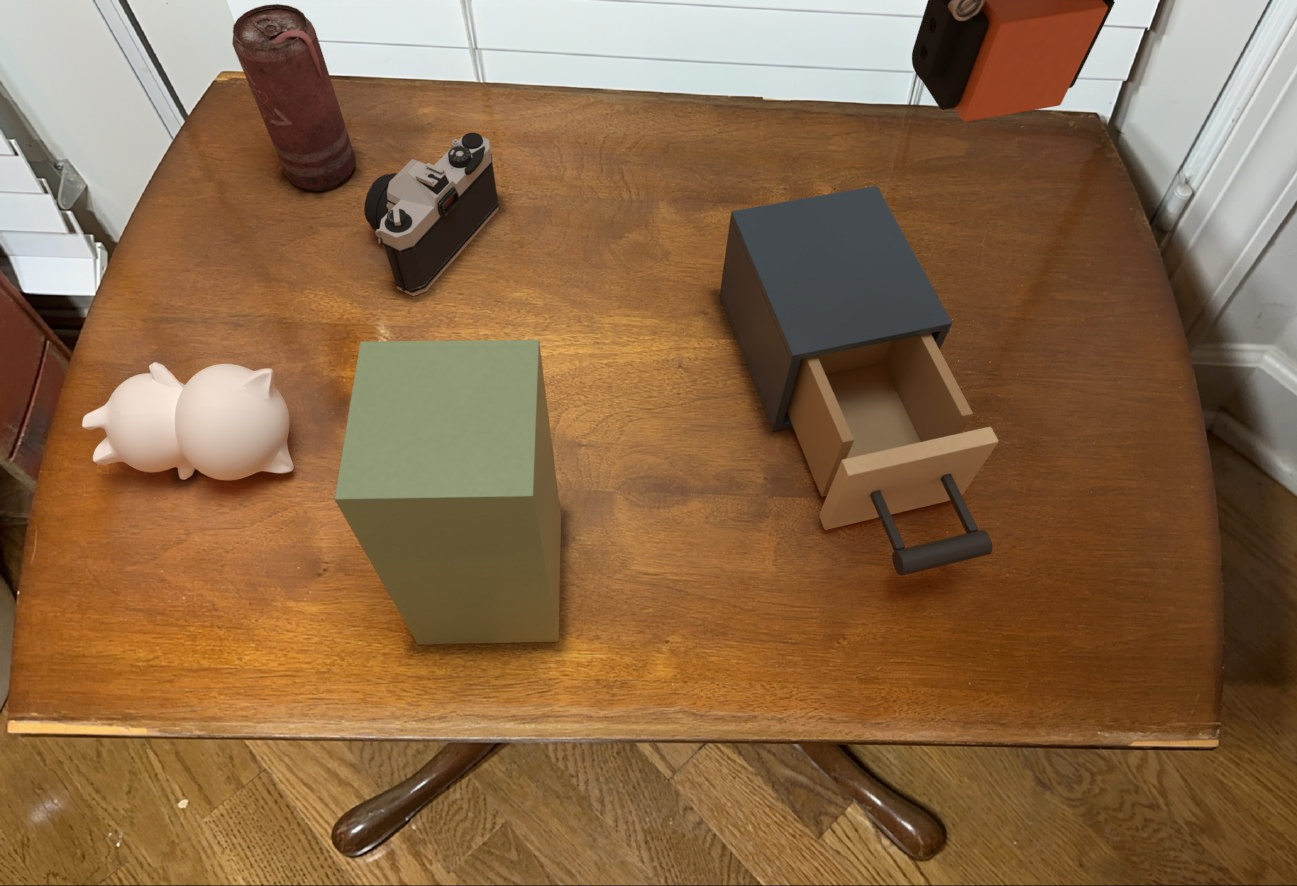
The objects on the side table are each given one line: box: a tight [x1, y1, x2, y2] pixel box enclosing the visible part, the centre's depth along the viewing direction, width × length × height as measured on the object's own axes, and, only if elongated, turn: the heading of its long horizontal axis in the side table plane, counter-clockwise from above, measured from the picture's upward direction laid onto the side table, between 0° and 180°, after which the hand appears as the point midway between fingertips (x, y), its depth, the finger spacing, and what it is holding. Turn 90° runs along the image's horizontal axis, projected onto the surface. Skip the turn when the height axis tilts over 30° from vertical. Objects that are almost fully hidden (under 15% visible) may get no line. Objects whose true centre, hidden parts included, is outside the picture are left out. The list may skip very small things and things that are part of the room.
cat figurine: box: [81, 361, 295, 481], centre depth 64 cm, size 9×11×12 cm
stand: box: [334, 339, 562, 646], centre depth 53 cm, size 9×9×20 cm
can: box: [231, 3, 356, 192], centre depth 75 cm, size 6×6×14 cm
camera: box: [363, 132, 500, 297], centre depth 73 cm, size 13×8×9 cm, turn 154°
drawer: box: [787, 333, 999, 577], centre depth 62 cm, size 18×10×8 cm, turn 15°
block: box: [954, 0, 1108, 123], centre depth 36 cm, size 4×4×4 cm
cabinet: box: [719, 185, 953, 432], centre depth 68 cm, size 13×11×9 cm
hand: (992, 74), depth 38 cm, fingers closed on block, 4 cm apart
